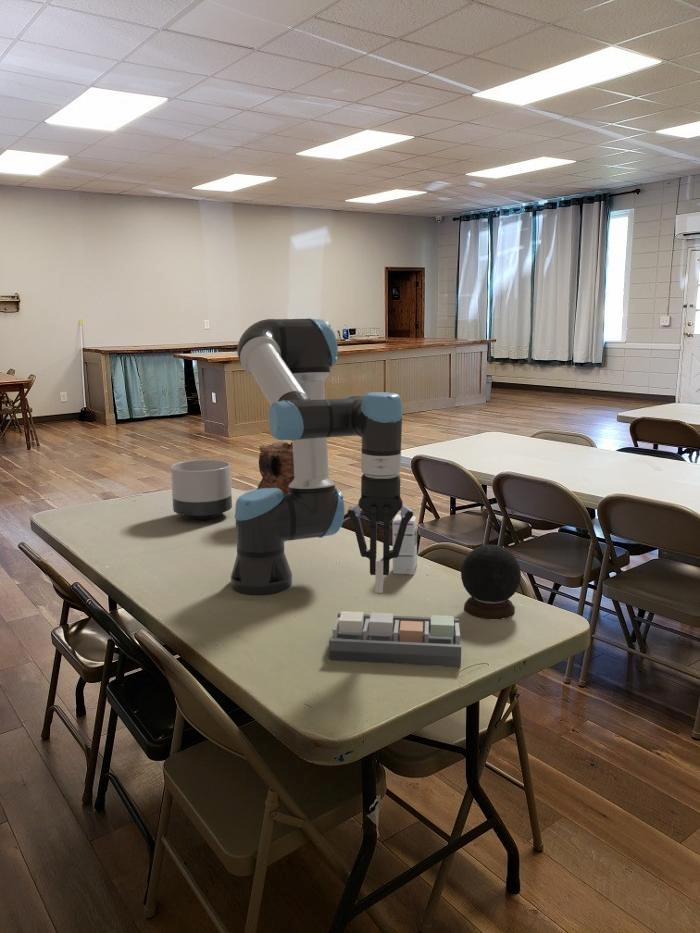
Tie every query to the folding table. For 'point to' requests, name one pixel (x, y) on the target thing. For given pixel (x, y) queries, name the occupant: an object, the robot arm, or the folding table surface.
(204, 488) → the planter
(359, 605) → the folding table surface
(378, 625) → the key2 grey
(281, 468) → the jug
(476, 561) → the black ball on stand
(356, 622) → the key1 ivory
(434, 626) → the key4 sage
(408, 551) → the syrup box
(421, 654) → the keypad board
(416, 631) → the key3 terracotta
